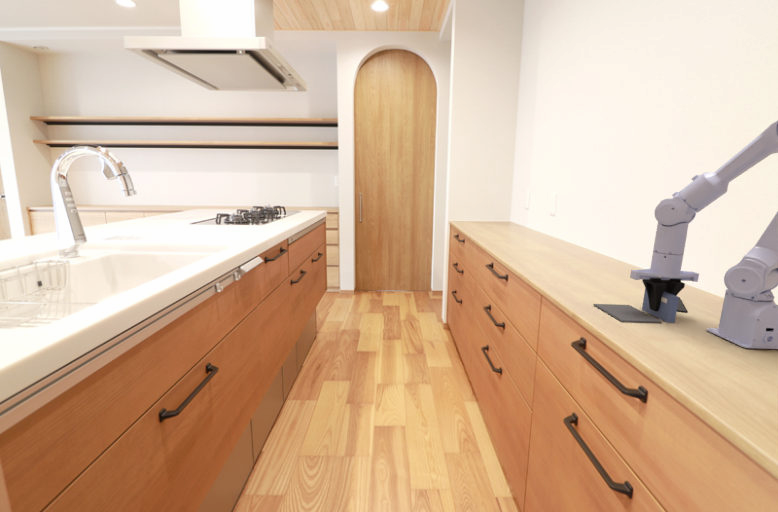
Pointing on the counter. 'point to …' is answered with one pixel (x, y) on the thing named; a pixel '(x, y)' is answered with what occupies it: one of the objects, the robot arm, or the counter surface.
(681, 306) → the smartphone
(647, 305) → the block
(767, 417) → the counter surface
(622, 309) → the mat
